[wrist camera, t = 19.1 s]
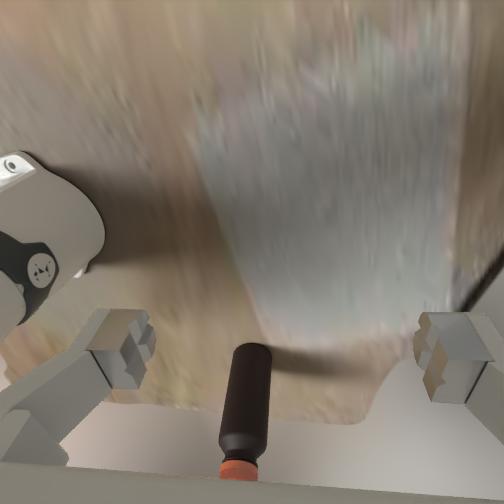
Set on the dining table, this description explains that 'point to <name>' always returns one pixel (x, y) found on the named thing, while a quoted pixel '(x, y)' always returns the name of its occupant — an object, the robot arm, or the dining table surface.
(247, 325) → the dining table surface
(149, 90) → the dining table surface
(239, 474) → the brown bottle
